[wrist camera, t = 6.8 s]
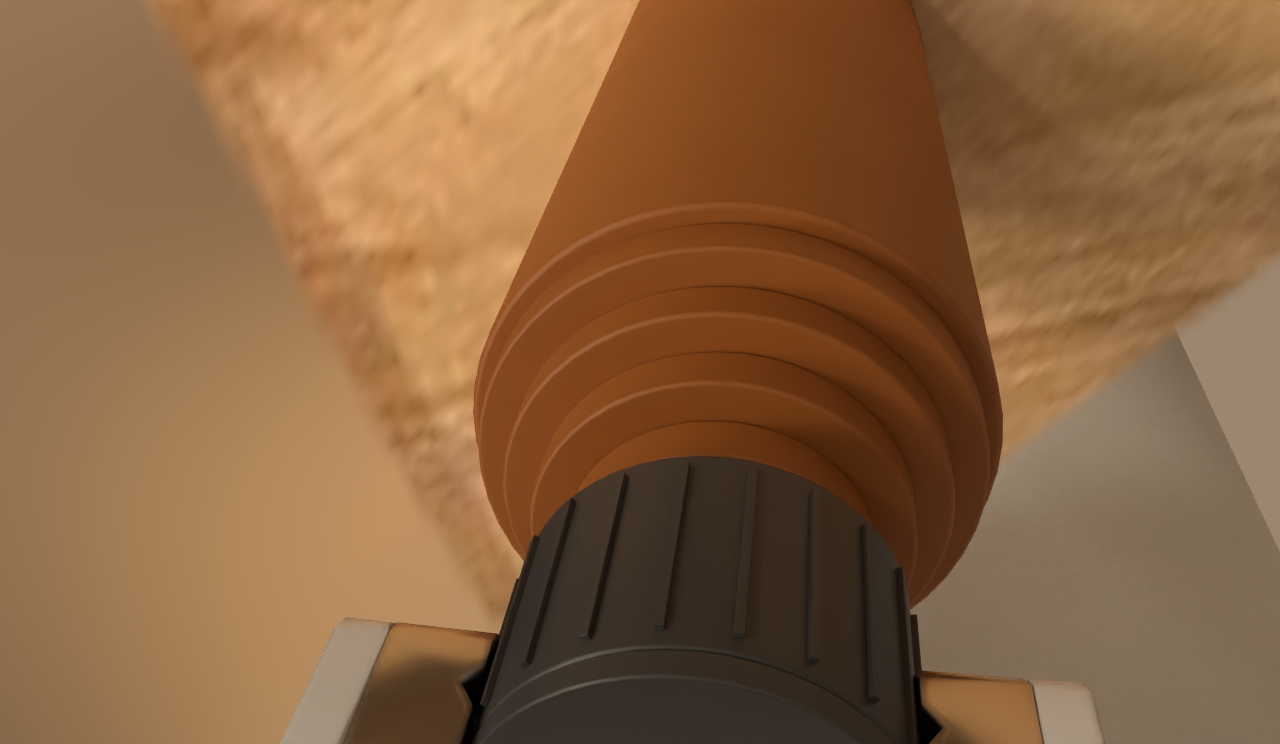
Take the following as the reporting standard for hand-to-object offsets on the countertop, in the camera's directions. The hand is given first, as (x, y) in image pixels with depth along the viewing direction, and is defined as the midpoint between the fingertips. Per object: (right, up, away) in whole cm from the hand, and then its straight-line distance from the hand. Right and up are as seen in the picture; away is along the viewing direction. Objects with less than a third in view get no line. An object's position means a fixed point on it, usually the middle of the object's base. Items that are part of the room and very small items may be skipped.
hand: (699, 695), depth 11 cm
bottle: (+2, +10, +15) cm, 18 cm away
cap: (0, +1, +1) cm, 1 cm away
